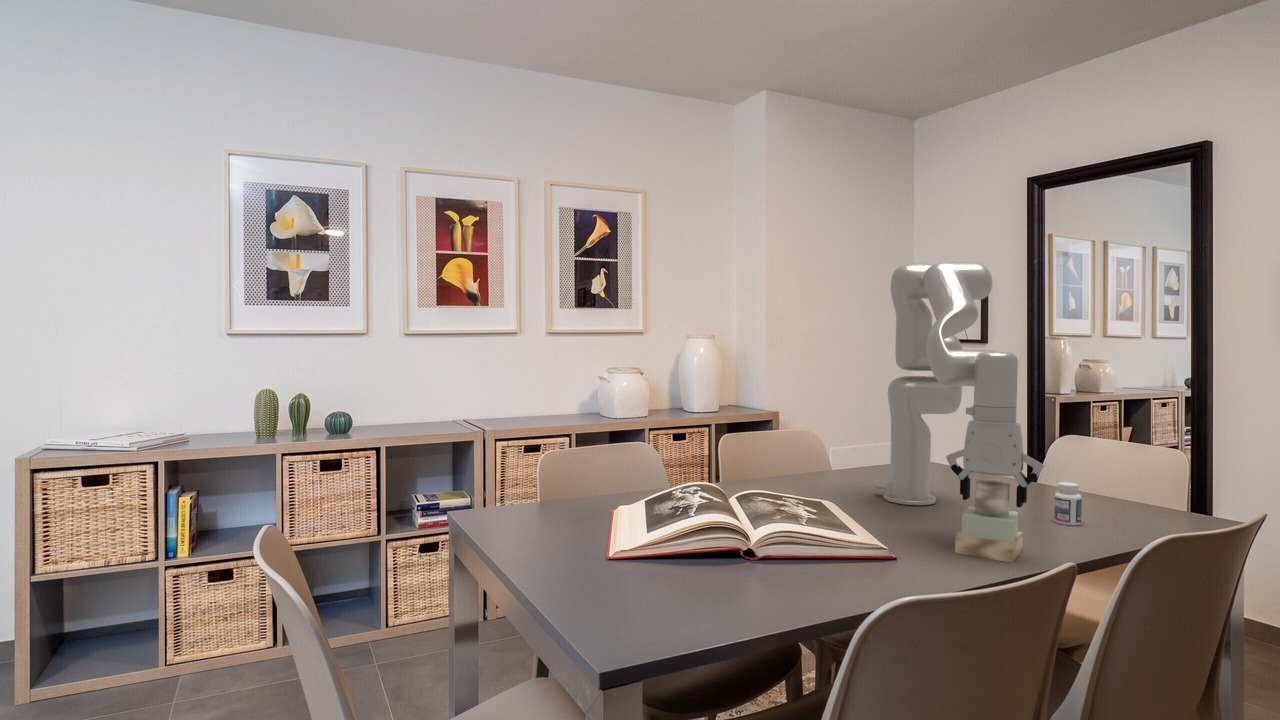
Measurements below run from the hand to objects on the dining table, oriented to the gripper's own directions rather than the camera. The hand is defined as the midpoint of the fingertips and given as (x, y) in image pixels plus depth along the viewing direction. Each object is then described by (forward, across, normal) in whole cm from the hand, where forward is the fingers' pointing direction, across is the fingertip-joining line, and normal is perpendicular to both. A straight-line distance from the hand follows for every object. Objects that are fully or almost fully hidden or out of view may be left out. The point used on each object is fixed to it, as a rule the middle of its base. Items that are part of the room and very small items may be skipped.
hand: (992, 502), depth 143 cm
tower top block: (+6, 0, -1) cm, 6 cm away
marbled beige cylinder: (+2, 0, 0) cm, 2 cm away
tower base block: (+10, 0, 0) cm, 10 cm away
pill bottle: (+10, +9, +34) cm, 37 cm away
